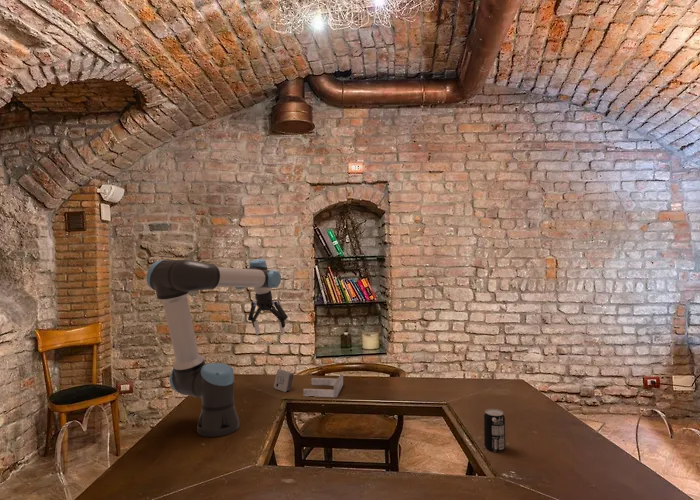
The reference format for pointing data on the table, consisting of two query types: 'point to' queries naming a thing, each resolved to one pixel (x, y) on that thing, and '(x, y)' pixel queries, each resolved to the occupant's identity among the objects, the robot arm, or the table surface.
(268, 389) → the table surface
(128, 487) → the table surface
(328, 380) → the aluminium bracket
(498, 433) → the beverage can
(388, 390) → the table surface
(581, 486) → the table surface
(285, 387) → the electrical switch
